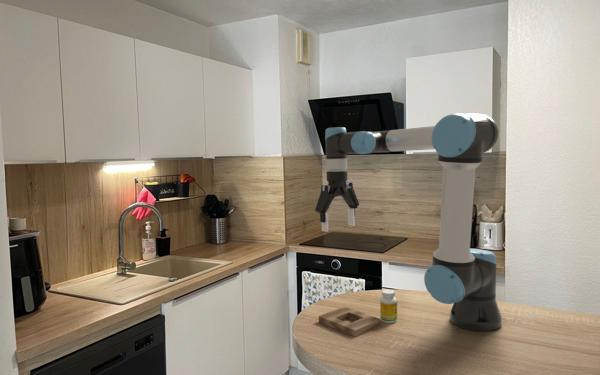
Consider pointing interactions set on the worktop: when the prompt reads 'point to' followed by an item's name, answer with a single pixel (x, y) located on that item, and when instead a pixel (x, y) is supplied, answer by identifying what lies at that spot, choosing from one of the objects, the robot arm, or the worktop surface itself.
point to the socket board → (354, 328)
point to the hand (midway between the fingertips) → (338, 228)
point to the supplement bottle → (388, 306)
